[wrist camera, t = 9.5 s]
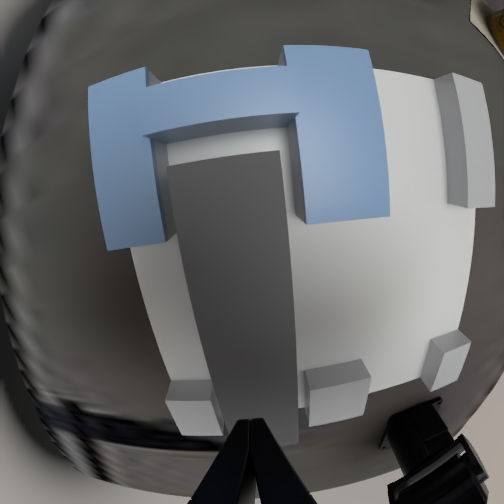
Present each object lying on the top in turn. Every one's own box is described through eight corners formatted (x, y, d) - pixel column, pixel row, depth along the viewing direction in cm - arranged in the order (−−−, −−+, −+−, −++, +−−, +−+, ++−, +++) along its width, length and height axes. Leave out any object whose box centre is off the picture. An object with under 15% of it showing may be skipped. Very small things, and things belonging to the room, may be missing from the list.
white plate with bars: (440, 360, 18) (465, 390, 14) (187, 407, 19) (179, 450, 14) (454, 90, 12) (496, 79, 8) (118, 101, 12) (77, 81, 8)
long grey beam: (290, 400, 17) (298, 443, 13) (235, 406, 17) (234, 449, 14) (269, 156, 13) (279, 150, 9) (189, 168, 13) (166, 166, 9)
